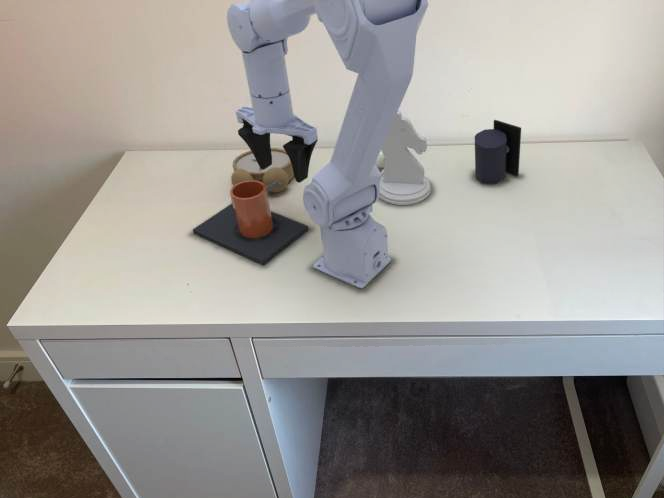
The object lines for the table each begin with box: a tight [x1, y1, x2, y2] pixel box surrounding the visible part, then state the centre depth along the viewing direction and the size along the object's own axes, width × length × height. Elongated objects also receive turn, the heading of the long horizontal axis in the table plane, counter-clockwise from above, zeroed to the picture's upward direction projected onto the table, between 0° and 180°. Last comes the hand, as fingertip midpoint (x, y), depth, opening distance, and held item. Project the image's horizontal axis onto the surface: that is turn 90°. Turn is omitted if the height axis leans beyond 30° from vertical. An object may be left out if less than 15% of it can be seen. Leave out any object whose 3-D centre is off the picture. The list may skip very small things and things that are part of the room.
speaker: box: [474, 119, 522, 185], centre depth 103 cm, size 8×6×10 cm
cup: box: [229, 180, 273, 238], centre depth 93 cm, size 6×6×8 cm
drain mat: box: [192, 203, 309, 266], centre depth 96 cm, size 16×11×1 cm
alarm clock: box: [230, 147, 294, 194], centre depth 107 cm, size 11×5×15 cm
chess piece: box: [379, 110, 432, 206], centre depth 99 cm, size 10×10×15 cm
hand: (283, 172), depth 92 cm, fingers open, 7 cm apart
